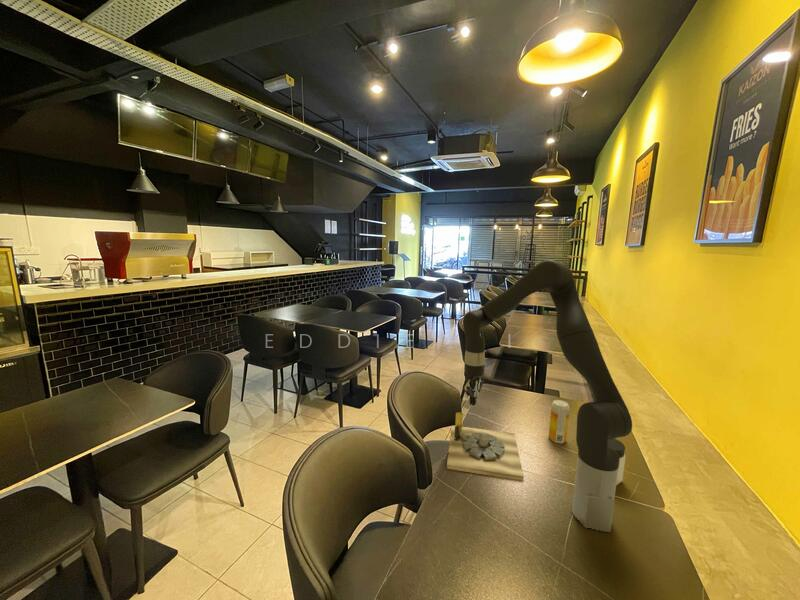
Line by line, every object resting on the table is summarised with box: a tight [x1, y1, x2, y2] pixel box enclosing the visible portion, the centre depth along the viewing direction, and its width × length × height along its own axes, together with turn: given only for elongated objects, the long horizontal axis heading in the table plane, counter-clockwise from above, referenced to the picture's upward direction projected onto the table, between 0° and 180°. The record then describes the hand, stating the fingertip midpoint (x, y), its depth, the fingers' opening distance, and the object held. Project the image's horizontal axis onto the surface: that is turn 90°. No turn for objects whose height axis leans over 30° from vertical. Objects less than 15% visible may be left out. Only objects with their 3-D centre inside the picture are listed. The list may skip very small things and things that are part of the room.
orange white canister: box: [548, 399, 571, 445], centre depth 120 cm, size 6×6×15 cm
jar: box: [608, 438, 627, 486], centre depth 101 cm, size 9×8×12 cm
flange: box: [454, 411, 505, 460], centre depth 114 cm, size 18×14×9 cm
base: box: [446, 425, 525, 482], centre depth 113 cm, size 24×24×6 cm
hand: (472, 404), depth 124 cm, fingers closed
